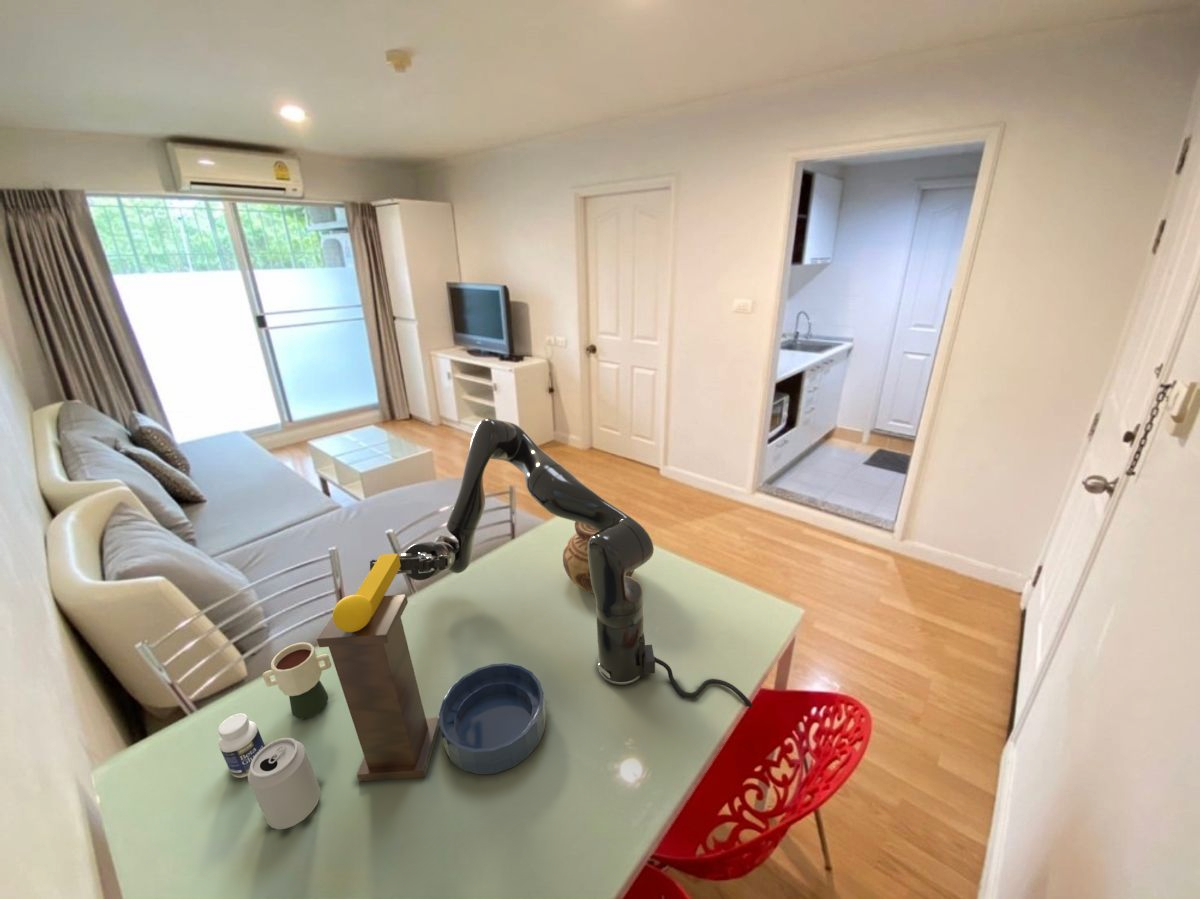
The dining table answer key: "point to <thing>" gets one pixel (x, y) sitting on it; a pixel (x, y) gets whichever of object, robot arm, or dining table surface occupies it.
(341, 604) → the yellow lever
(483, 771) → the bowl
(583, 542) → the clay pot
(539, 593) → the dining table surface
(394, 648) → the stand
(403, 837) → the dining table surface
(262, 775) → the can
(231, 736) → the pill bottle
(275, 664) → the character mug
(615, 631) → the robot arm
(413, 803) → the dining table surface
